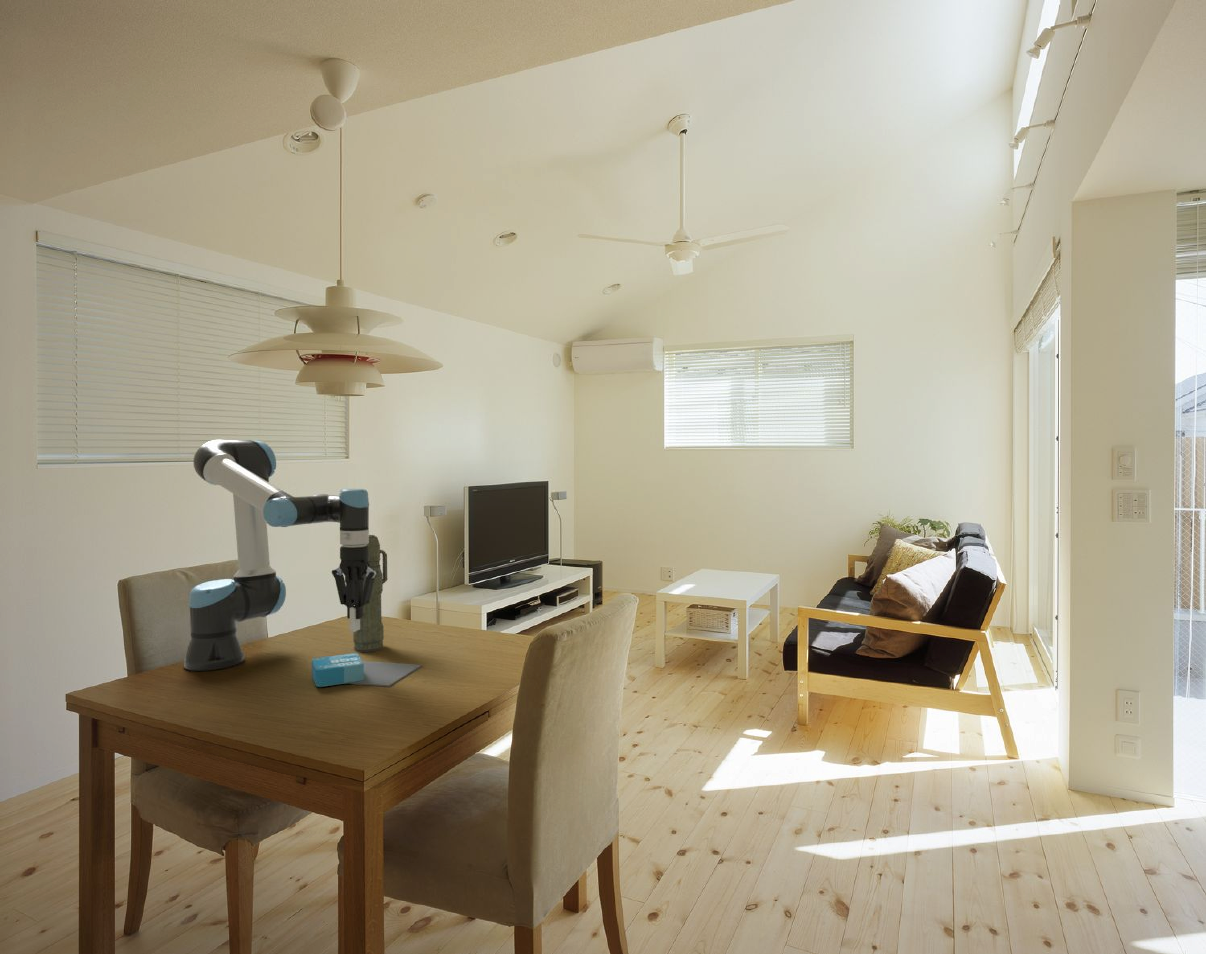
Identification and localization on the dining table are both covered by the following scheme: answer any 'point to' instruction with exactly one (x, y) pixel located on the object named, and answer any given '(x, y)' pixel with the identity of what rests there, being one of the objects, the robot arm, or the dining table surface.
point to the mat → (385, 673)
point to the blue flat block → (337, 669)
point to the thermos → (372, 604)
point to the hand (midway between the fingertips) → (354, 630)
